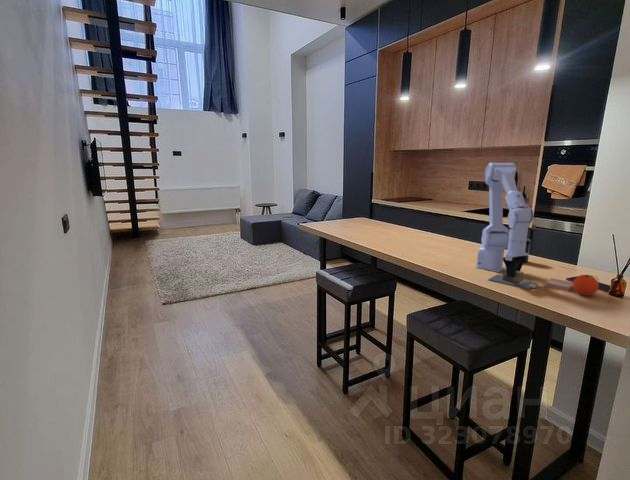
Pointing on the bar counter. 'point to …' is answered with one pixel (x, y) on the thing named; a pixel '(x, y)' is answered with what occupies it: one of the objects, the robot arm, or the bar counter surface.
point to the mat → (507, 282)
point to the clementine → (586, 284)
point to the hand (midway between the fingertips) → (513, 275)
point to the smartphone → (601, 286)
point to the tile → (559, 284)
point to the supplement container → (527, 249)
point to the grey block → (518, 279)
